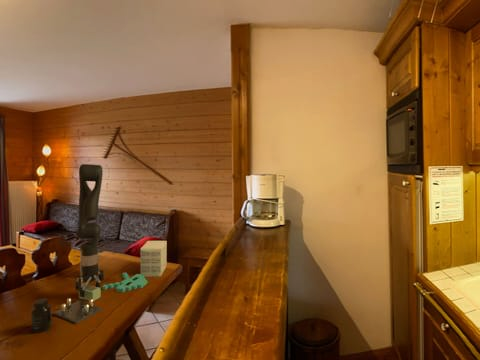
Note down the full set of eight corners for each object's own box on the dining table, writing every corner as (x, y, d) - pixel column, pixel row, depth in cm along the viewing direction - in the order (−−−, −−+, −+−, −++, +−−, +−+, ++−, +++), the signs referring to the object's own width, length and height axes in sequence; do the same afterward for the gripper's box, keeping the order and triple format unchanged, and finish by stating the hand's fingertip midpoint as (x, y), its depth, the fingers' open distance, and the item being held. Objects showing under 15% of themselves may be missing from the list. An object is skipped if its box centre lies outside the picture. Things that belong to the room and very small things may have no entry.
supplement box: (147, 266, 184) (147, 240, 183) (166, 266, 185) (167, 240, 184) (139, 276, 167) (139, 248, 166) (161, 276, 168) (161, 248, 167)
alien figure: (101, 290, 149) (134, 294, 145) (101, 286, 149) (134, 290, 145) (124, 275, 169) (153, 279, 165) (124, 272, 169) (153, 275, 165)
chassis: (53, 314, 123) (53, 303, 123) (78, 302, 134) (78, 292, 134) (76, 323, 117) (76, 312, 117) (100, 310, 128) (100, 300, 127)
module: (79, 298, 139) (78, 288, 138) (87, 294, 144) (87, 284, 143) (92, 301, 136) (92, 291, 136) (100, 297, 141) (100, 287, 141)
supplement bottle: (38, 323, 116) (37, 297, 116) (54, 323, 117) (54, 296, 116) (27, 333, 110) (26, 305, 109) (44, 333, 110) (44, 305, 109)
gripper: (97, 257, 147) (97, 286, 148) (71, 266, 134) (72, 297, 135) (106, 259, 144) (107, 289, 144) (81, 268, 131) (82, 301, 131)
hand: (90, 293), depth 140 cm, fingers open, 8 cm apart
